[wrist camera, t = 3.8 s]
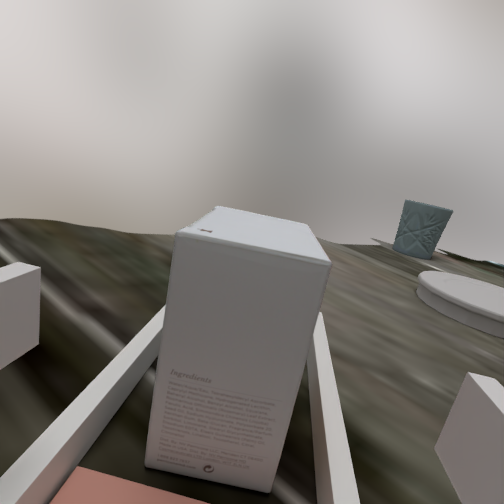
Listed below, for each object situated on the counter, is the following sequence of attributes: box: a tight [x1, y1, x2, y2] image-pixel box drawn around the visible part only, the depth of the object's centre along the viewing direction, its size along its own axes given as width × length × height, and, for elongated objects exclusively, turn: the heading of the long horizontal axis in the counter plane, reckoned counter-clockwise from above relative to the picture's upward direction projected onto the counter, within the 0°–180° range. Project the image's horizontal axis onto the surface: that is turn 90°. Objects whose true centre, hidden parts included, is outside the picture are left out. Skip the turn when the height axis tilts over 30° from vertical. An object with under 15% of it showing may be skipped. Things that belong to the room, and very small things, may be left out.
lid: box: [416, 271, 504, 338], centre depth 45 cm, size 17×20×3 cm
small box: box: [144, 206, 332, 493], centre depth 16 cm, size 8×6×10 cm
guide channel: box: [0, 305, 360, 504], centre depth 18 cm, size 12×23×2 cm, turn 173°
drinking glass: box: [393, 200, 453, 259], centre depth 76 cm, size 10×10×12 cm
